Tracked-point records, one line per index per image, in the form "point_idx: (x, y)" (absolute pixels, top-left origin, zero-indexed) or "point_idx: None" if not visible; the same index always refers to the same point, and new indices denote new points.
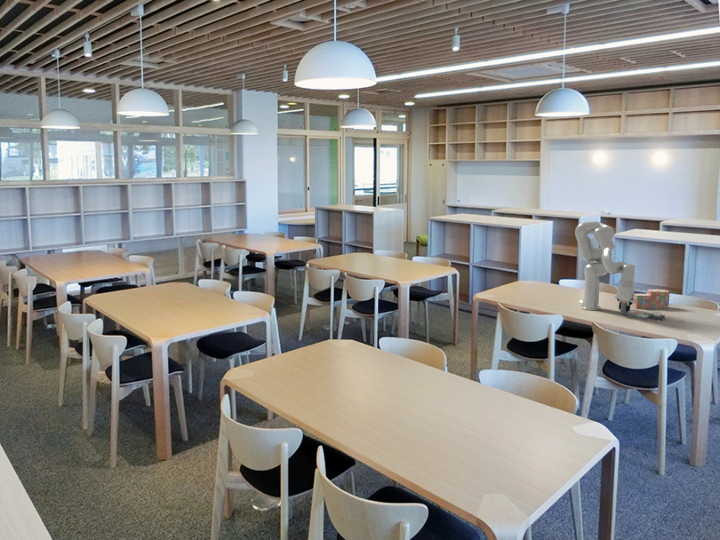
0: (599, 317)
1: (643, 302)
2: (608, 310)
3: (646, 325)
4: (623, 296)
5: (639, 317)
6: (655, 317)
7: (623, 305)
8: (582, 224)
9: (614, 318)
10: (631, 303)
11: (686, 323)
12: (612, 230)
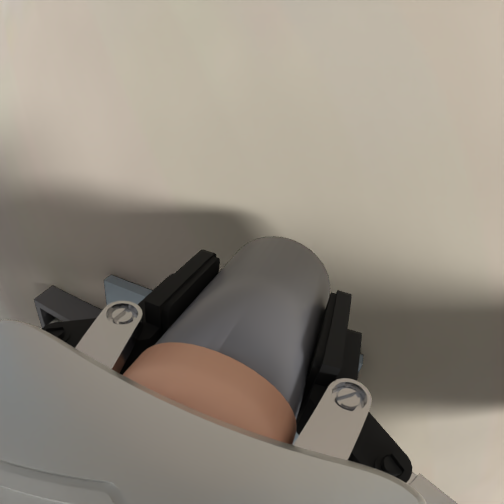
0: (499, 24)
1: None
2: (485, 389)
3: (26, 99)
4: (68, 498)
5: (149, 293)
6: (55, 305)
7: (222, 304)
8: None
9: (342, 83)
10: (51, 325)
11: (3, 309)
12: None
